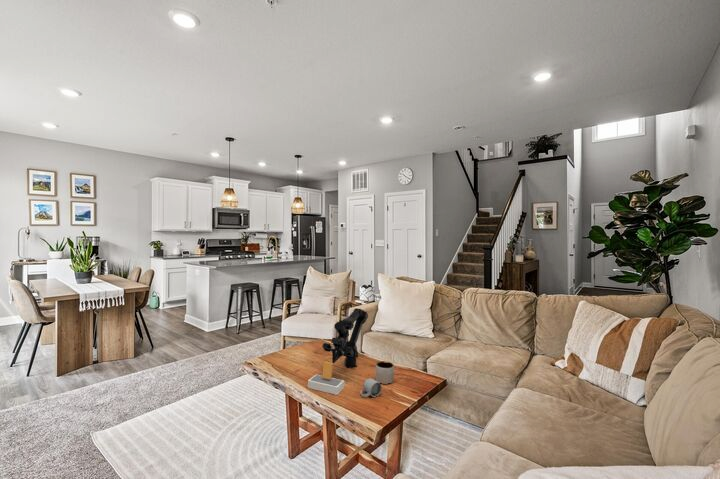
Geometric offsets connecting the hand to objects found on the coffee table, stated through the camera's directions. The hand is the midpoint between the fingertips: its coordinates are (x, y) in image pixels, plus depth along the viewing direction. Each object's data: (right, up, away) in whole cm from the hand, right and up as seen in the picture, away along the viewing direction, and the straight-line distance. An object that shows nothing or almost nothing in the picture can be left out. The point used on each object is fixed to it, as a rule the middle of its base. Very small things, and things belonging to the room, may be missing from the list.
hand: (333, 362), depth 190 cm
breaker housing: (-3, -11, -7) cm, 14 cm away
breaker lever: (-3, -7, -7) cm, 10 cm away
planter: (+30, -13, +5) cm, 33 cm away
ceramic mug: (+21, -13, -13) cm, 28 cm away
